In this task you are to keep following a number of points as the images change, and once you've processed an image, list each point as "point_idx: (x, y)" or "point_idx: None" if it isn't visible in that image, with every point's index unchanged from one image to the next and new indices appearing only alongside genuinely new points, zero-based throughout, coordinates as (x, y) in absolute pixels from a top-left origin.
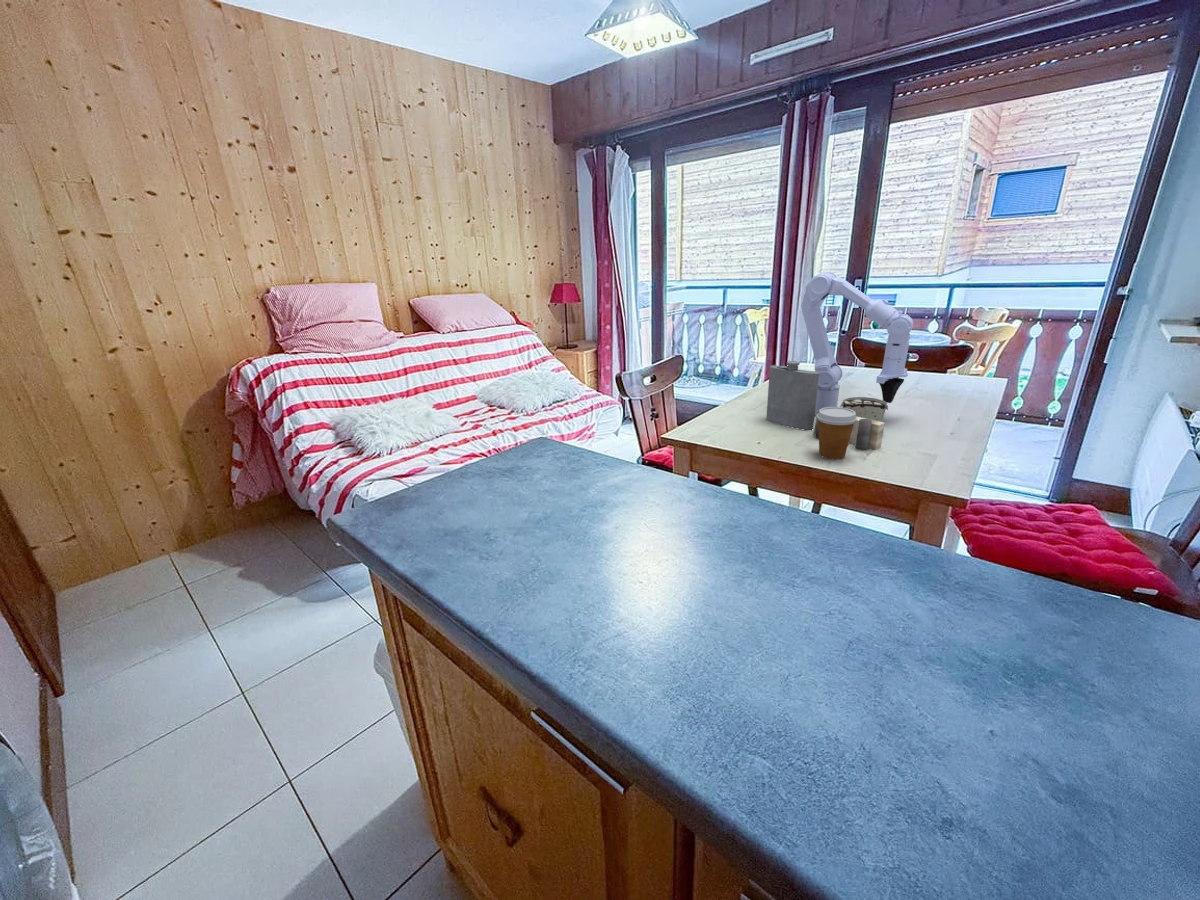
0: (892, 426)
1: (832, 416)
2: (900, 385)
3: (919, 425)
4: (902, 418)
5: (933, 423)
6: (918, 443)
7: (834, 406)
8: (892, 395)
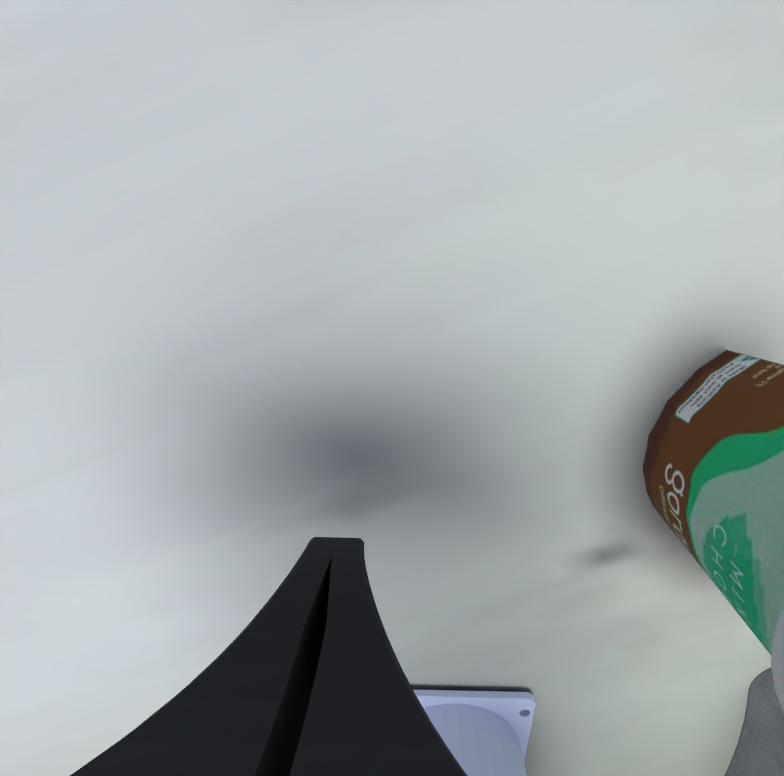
0: (429, 367)
1: None
2: (163, 714)
3: (257, 219)
4: (186, 393)
5: (111, 146)
6: (759, 14)
7: (480, 768)
8: (369, 601)
